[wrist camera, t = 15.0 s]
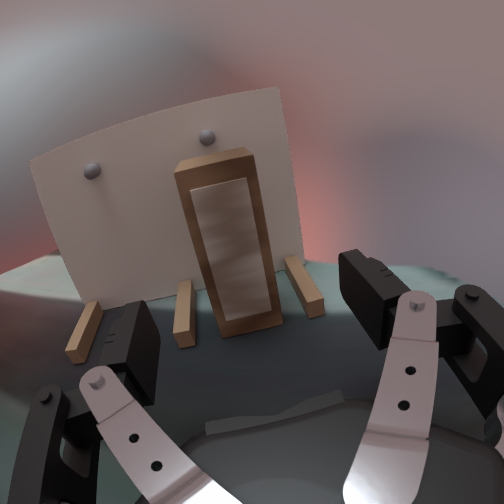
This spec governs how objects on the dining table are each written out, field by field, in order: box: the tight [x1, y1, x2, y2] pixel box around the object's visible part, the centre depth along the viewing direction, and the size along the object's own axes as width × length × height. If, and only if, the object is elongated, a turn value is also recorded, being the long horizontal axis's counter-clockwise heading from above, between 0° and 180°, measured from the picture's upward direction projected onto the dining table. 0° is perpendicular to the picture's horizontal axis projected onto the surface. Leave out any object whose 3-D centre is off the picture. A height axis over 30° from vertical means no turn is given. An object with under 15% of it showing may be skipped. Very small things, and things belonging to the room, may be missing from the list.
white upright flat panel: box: [29, 87, 324, 364], centre depth 21 cm, size 22×9×16 cm, turn 98°
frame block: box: [174, 147, 283, 338], centre depth 21 cm, size 4×5×12 cm
